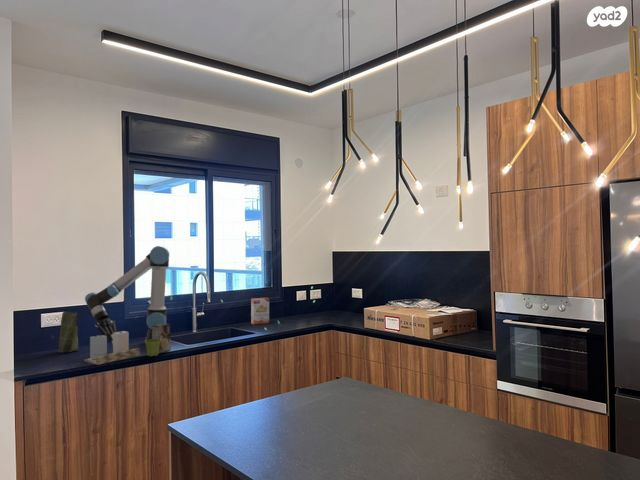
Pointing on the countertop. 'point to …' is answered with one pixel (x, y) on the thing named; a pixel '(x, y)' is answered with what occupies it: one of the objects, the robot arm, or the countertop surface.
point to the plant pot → (152, 346)
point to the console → (114, 356)
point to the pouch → (68, 333)
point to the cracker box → (259, 310)
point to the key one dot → (120, 341)
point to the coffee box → (162, 336)
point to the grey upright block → (98, 346)
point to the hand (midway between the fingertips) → (115, 344)
